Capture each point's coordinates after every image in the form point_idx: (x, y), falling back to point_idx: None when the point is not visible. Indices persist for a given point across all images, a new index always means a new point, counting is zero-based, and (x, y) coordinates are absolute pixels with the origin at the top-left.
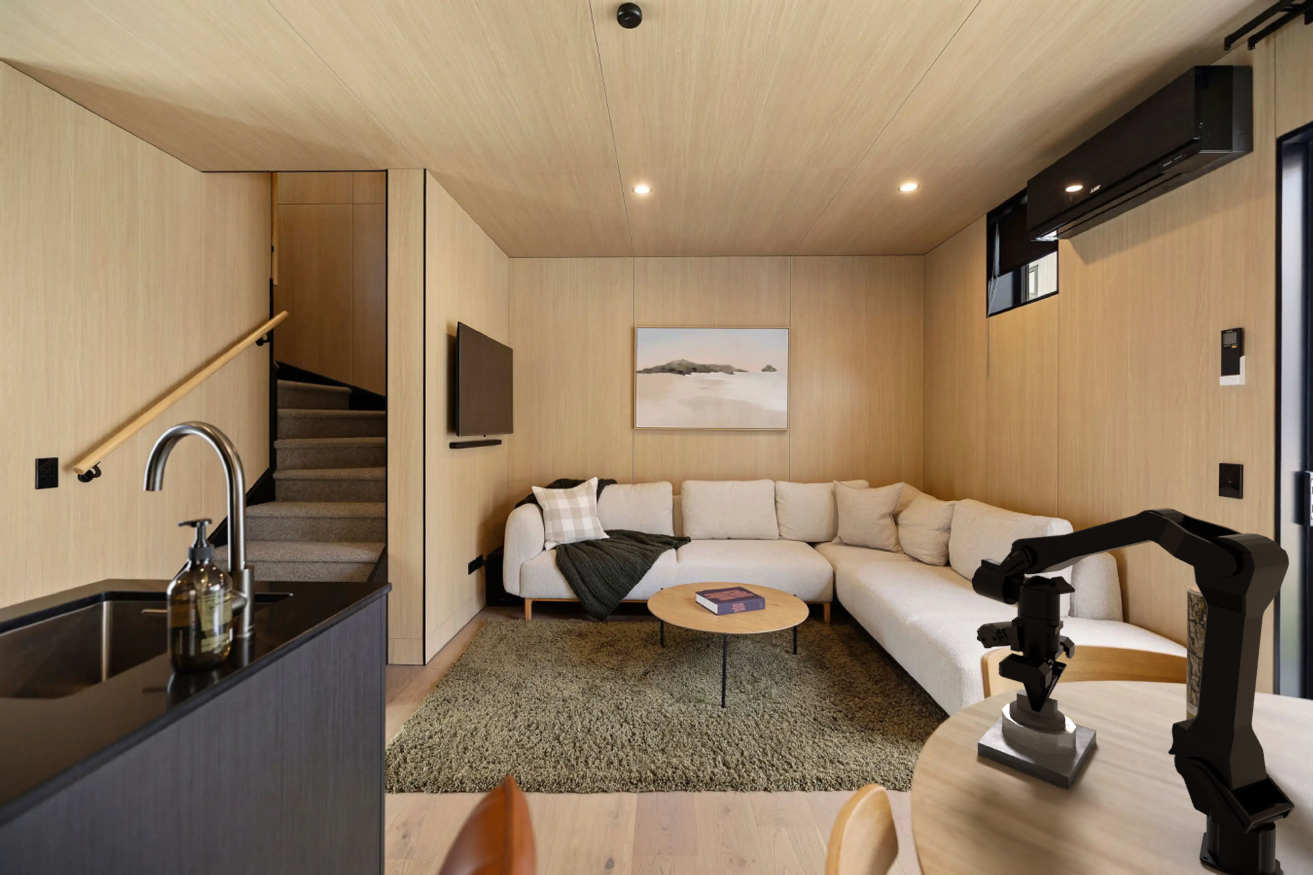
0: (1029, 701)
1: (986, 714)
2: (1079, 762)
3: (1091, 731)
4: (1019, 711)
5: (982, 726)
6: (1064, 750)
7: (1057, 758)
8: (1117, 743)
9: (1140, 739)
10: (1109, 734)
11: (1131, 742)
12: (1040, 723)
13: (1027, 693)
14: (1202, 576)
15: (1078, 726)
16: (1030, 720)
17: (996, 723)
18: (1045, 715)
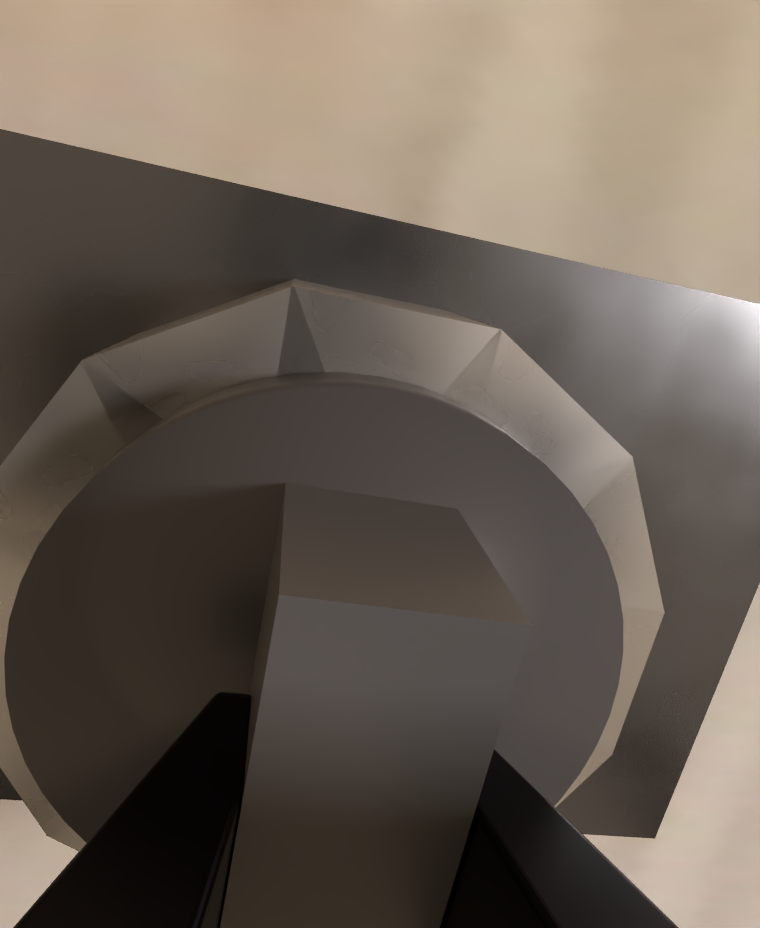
0: (155, 766)
1: (683, 107)
2: None
3: (621, 819)
4: (185, 526)
5: (425, 94)
6: None
7: None
8: (655, 847)
9: (756, 914)
10: (746, 812)
11: (701, 890)
12: (23, 752)
13: (40, 905)
14: None
15: (655, 757)
16: (4, 663)
17: (342, 220)
18: None
